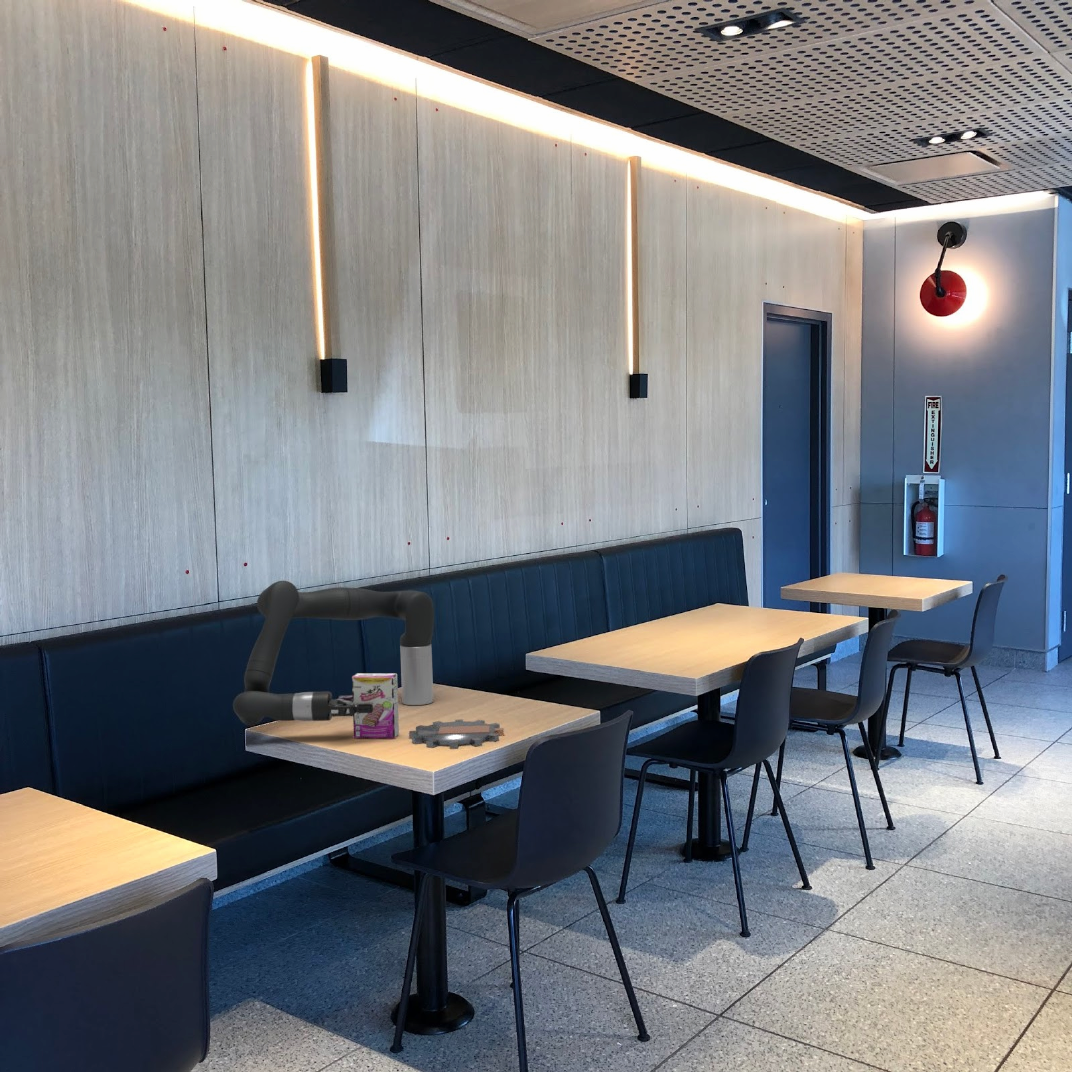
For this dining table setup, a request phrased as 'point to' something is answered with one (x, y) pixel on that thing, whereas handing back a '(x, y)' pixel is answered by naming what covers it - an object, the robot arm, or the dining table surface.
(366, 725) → the candy bar box
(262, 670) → the robot arm
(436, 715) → the dining table surface
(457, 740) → the sprocket plate
